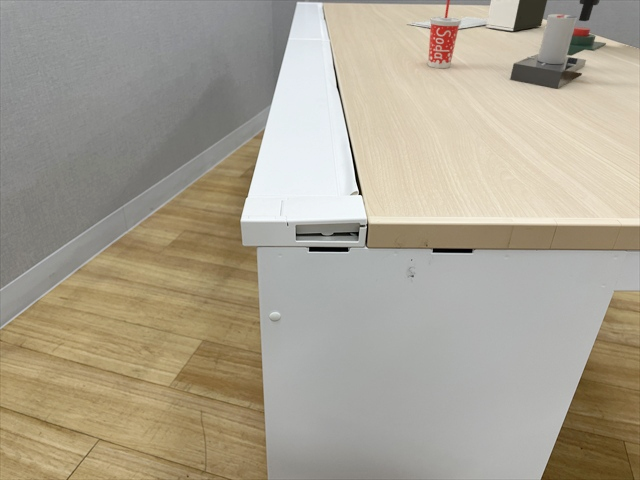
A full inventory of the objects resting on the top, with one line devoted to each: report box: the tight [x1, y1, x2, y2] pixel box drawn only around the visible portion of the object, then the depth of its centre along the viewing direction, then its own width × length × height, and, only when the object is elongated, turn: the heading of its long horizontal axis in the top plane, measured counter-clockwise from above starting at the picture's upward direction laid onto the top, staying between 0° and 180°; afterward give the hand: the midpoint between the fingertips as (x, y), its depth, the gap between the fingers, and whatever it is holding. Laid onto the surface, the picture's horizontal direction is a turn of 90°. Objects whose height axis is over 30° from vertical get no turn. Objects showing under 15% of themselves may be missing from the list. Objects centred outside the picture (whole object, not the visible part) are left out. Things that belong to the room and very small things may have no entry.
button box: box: [567, 33, 607, 57], centre depth 116 cm, size 10×10×4 cm
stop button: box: [573, 26, 591, 36], centre depth 115 cm, size 4×4×2 cm
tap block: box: [509, 53, 587, 89], centre depth 95 cm, size 14×9×3 cm, turn 139°
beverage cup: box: [427, 0, 461, 69], centre depth 99 cm, size 6×6×14 cm
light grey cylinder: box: [537, 13, 578, 64], centre depth 92 cm, size 5×5×8 cm
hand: (583, 20), depth 114 cm, fingers closed
